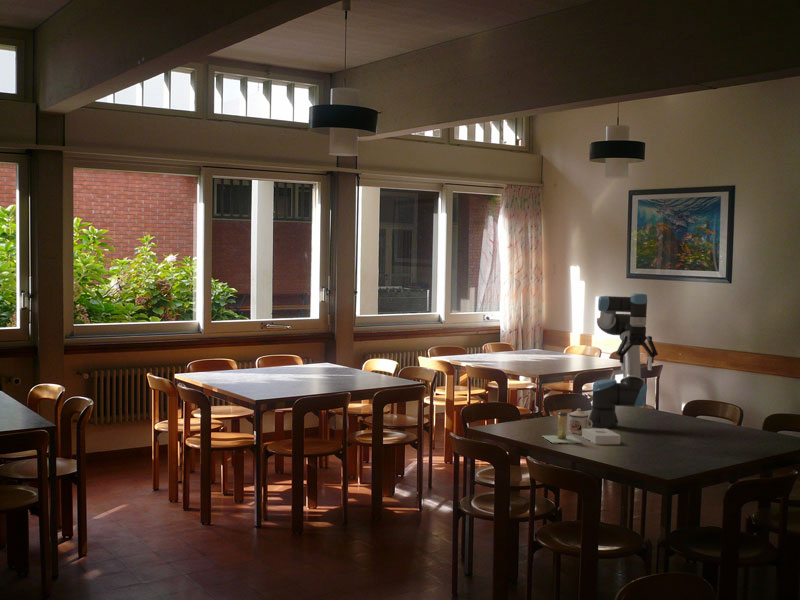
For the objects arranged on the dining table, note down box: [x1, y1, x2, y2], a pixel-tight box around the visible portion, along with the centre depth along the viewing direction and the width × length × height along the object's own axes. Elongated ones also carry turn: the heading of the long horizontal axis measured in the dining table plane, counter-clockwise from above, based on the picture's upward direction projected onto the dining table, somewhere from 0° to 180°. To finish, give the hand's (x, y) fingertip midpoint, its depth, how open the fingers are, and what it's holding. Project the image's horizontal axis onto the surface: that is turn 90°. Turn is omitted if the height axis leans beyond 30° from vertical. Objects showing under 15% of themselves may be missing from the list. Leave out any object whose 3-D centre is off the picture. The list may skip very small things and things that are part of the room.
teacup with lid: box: [568, 408, 593, 435], centre depth 396 cm, size 12×9×12 cm
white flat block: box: [581, 428, 621, 445], centre depth 380 cm, size 16×12×4 cm
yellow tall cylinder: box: [556, 411, 568, 440], centre depth 377 cm, size 4×4×12 cm
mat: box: [541, 434, 583, 444], centre depth 377 cm, size 14×14×1 cm
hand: (636, 370), depth 392 cm, fingers open, 13 cm apart
